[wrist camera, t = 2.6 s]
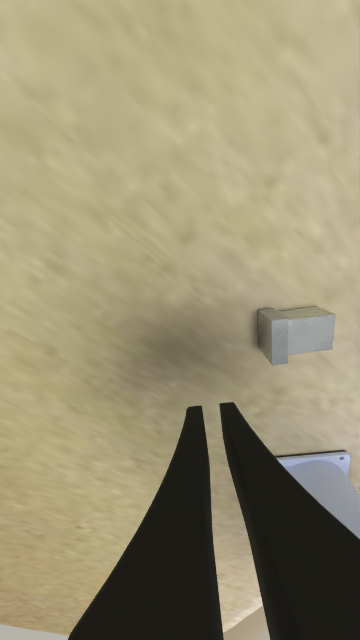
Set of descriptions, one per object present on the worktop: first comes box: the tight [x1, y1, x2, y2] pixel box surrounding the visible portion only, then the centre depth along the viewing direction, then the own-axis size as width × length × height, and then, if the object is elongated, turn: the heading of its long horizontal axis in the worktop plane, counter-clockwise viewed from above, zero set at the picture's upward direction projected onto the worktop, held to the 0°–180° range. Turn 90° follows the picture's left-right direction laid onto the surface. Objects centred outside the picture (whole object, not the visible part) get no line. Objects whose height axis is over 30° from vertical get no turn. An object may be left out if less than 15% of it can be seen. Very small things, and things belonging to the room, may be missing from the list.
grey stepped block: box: [258, 306, 336, 365], centre depth 17 cm, size 5×4×3 cm
